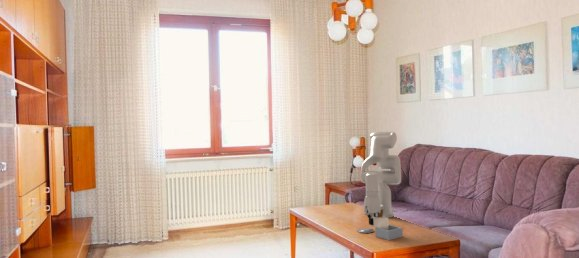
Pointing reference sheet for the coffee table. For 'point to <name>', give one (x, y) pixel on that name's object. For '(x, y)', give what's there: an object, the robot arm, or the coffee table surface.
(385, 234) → the holder
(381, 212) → the disposable coffee cup
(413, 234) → the coffee table surface
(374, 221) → the white lever knob
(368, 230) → the grey round disc
